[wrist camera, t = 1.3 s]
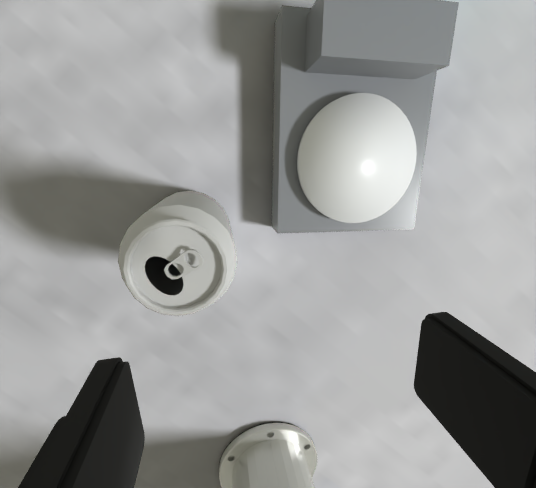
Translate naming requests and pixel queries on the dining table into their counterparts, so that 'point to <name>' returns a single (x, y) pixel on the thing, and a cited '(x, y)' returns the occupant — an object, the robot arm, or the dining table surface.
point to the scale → (354, 111)
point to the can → (179, 254)
